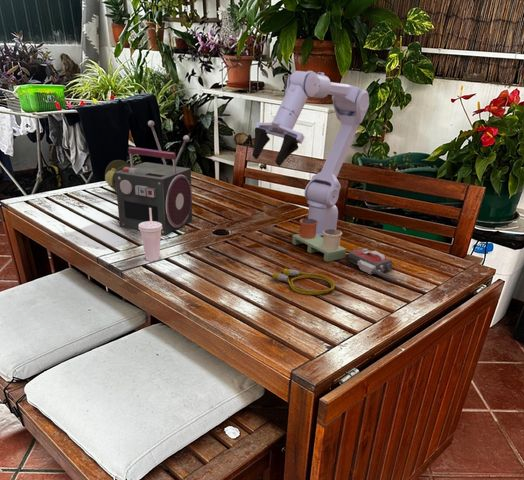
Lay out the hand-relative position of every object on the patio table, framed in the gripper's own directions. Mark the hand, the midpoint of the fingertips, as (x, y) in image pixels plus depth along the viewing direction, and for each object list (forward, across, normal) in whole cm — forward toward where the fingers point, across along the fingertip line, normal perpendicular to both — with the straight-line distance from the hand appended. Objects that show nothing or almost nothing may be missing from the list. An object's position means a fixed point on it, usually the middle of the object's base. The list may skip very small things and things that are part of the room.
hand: (265, 160), depth 138 cm
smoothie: (+37, -18, -3) cm, 41 cm away
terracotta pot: (+9, +8, +25) cm, 28 cm away
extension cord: (+26, +24, +6) cm, 36 cm away
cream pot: (+11, +19, +22) cm, 31 cm away
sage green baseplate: (+12, +14, +25) cm, 31 cm away
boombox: (+24, -39, +16) cm, 49 cm away
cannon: (+13, -71, +35) cm, 81 cm away
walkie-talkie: (+13, +34, +22) cm, 42 cm away
